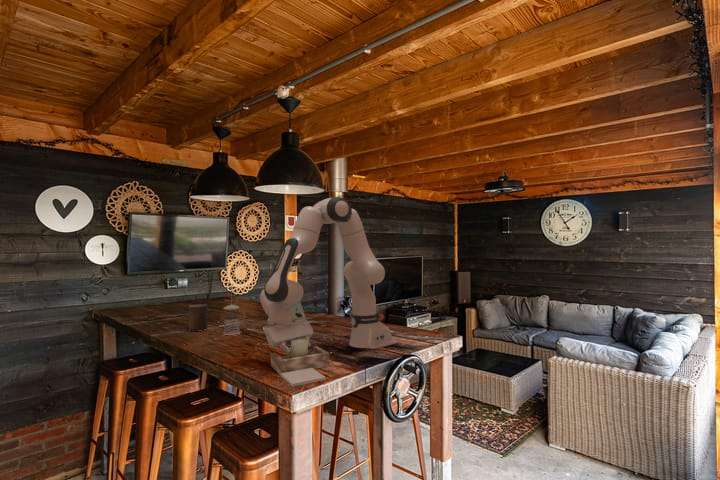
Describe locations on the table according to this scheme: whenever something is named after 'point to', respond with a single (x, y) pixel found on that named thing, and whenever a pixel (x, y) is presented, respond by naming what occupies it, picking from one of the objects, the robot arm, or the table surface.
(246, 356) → the table surface
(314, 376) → the concrete tile
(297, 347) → the sage green rounded cylinder
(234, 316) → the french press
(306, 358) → the frame
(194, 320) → the pillar candle
